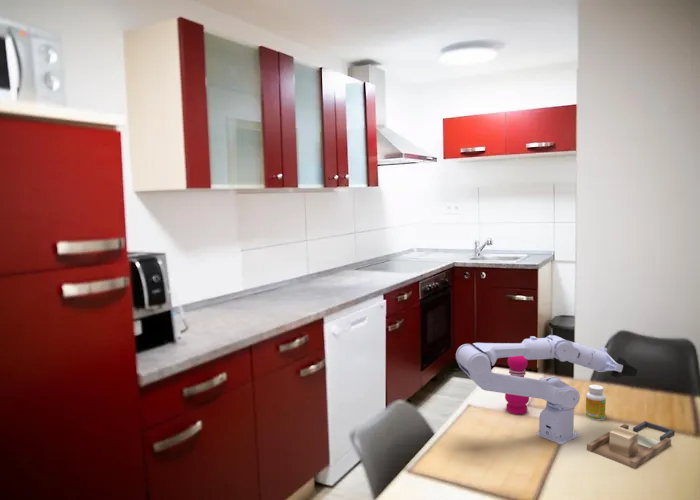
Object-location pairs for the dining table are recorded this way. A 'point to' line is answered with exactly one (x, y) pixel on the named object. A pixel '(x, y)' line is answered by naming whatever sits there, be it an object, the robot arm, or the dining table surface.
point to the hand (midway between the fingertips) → (626, 369)
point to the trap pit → (646, 424)
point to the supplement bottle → (595, 403)
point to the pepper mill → (515, 401)
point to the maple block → (623, 441)
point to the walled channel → (645, 452)
